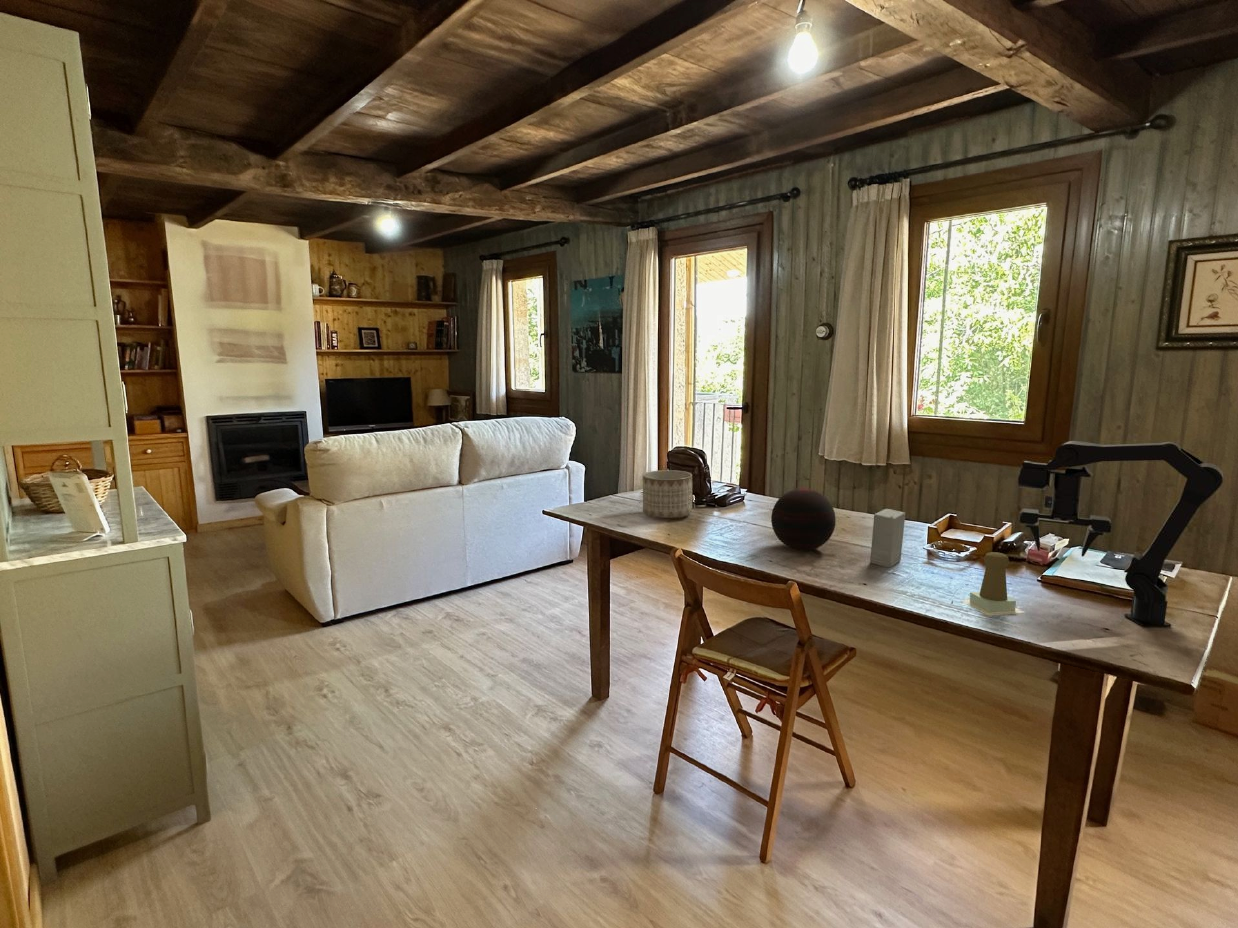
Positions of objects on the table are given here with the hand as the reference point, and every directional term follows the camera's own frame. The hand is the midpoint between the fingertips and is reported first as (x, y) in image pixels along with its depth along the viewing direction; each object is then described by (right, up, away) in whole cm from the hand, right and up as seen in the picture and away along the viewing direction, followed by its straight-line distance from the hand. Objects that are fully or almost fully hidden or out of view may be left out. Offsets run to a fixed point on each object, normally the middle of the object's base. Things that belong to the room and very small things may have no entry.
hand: (1060, 553), depth 167 cm
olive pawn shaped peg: (-19, -10, -4) cm, 22 cm away
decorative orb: (-51, -6, +49) cm, 71 cm away
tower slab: (-19, -14, -3) cm, 24 cm away
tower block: (-19, -13, -3) cm, 23 cm away
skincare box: (-30, -8, +35) cm, 46 cm away
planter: (-92, +2, +95) cm, 132 cm away
